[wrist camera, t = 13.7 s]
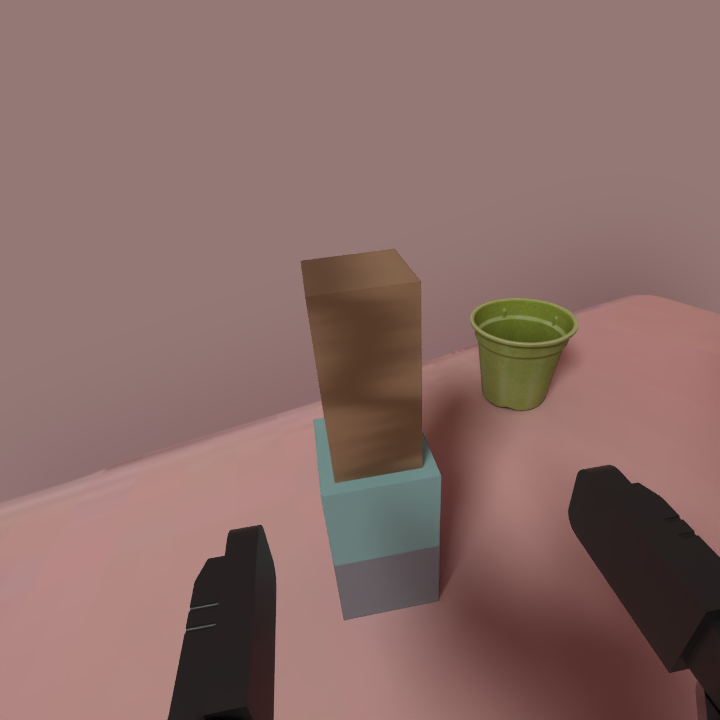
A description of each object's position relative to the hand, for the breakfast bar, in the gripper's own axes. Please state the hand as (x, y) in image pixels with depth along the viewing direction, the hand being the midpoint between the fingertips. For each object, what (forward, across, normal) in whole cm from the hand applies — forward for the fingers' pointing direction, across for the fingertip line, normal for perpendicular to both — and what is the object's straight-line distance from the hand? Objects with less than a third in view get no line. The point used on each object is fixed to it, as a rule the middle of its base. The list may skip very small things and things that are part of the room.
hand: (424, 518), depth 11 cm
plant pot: (+27, -17, +18) cm, 36 cm away
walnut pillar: (+11, 0, +7) cm, 13 cm away
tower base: (+11, 0, +18) cm, 21 cm away
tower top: (+11, 0, +13) cm, 17 cm away
